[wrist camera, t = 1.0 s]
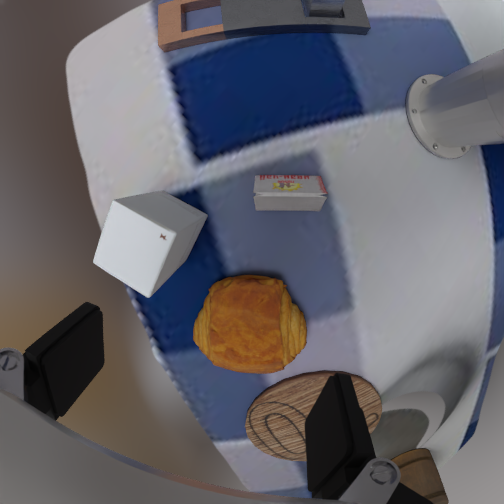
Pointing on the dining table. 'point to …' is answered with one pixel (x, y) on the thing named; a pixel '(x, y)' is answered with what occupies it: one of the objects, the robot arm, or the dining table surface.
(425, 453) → the wooden container
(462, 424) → the dining table surface
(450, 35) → the dining table surface
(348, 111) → the dining table surface
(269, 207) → the white printed paper bag
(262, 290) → the croissant
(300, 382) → the trivet
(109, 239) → the supplement box
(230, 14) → the rail
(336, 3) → the steel peg
